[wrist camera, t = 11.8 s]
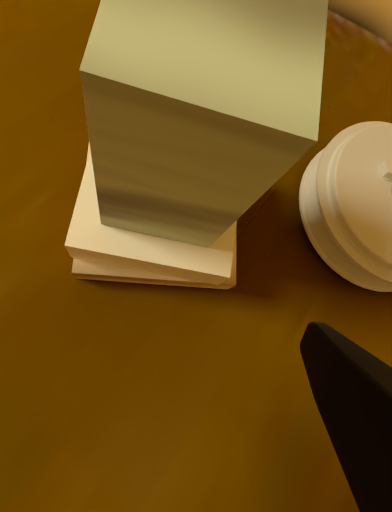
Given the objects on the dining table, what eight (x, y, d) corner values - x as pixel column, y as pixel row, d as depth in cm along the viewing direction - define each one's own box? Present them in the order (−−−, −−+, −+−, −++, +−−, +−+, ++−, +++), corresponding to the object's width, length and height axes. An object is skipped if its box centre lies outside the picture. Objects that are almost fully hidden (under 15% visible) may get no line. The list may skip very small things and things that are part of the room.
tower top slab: (218, 285, 21) (230, 277, 19) (71, 257, 20) (64, 245, 18) (234, 160, 24) (246, 140, 22) (104, 127, 22) (103, 102, 20)
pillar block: (208, 248, 19) (317, 141, 9) (100, 223, 18) (79, 69, 8) (222, 155, 21) (330, -29, 10) (125, 128, 20) (134, -107, 9)
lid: (313, 123, 29) (351, 80, 24) (439, 184, 30) (498, 154, 25) (274, 255, 25) (310, 234, 20) (420, 318, 26) (486, 312, 22)
